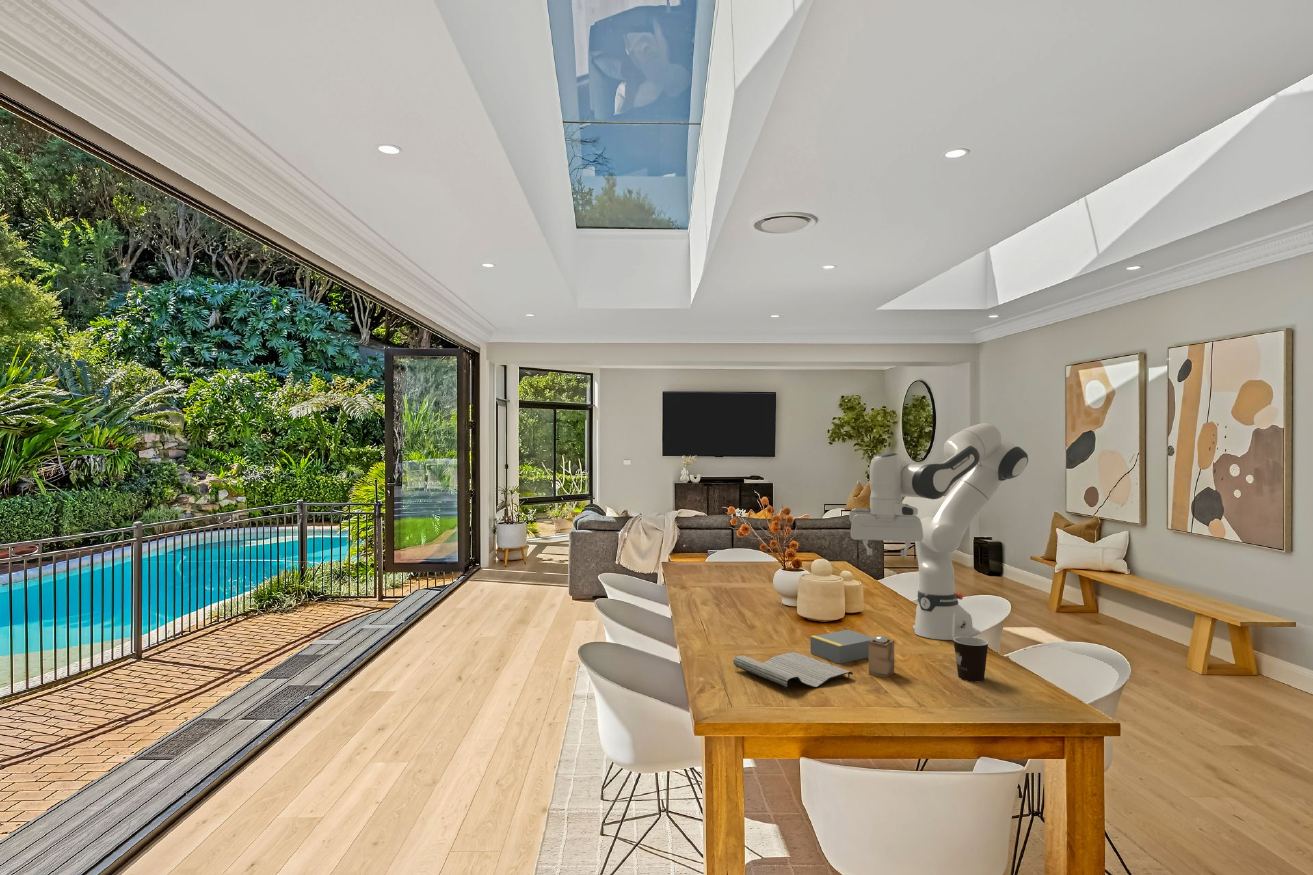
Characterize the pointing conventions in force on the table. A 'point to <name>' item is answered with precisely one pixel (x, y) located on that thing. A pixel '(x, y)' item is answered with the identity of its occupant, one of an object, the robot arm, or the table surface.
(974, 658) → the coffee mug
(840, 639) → the block
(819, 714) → the table surface
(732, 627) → the table surface
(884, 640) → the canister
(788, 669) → the mat
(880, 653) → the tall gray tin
